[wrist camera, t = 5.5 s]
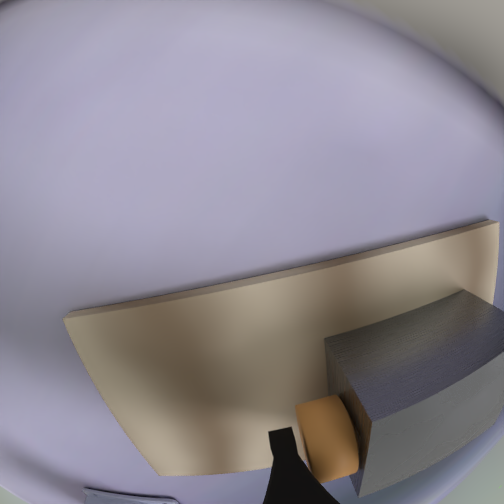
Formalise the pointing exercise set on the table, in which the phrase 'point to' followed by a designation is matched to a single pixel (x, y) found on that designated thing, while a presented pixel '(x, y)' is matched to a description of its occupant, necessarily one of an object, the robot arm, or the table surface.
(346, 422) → the shaft
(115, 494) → the robot arm
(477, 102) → the table surface
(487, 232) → the bearing stand
